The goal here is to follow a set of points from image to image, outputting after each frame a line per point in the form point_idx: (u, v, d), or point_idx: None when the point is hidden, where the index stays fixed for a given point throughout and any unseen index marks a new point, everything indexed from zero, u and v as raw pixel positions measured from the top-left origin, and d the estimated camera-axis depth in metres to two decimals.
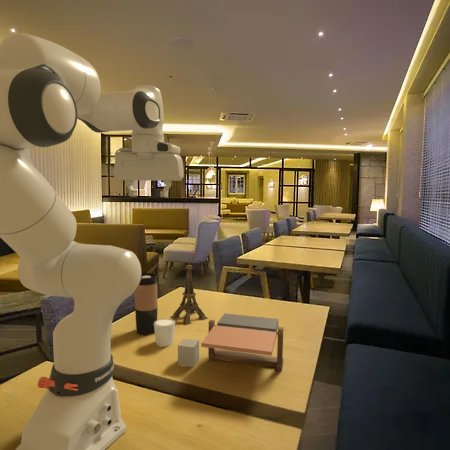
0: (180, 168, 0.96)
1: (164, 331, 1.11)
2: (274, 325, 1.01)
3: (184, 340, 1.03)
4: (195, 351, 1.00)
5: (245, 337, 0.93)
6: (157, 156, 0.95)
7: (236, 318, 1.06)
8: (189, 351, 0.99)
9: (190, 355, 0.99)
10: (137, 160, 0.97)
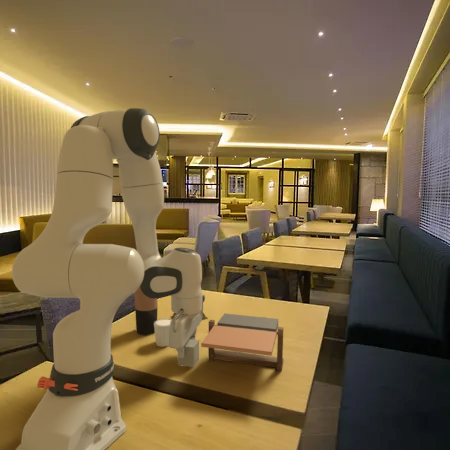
0: None
1: (164, 331, 1.11)
2: (274, 325, 1.01)
3: None
4: (195, 351, 1.00)
5: (245, 337, 0.93)
6: None
7: (236, 318, 1.06)
8: (189, 351, 0.99)
9: (190, 355, 0.99)
10: (189, 319, 0.99)
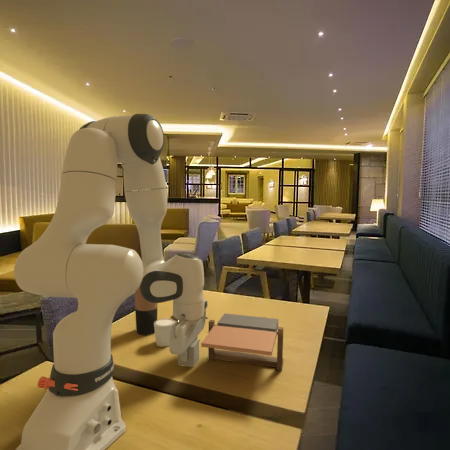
0: None
1: (164, 331, 1.11)
2: (274, 325, 1.01)
3: None
4: (195, 351, 1.00)
5: (245, 337, 0.93)
6: None
7: (236, 318, 1.06)
8: (189, 351, 0.99)
9: (190, 355, 0.99)
10: (190, 325, 0.98)
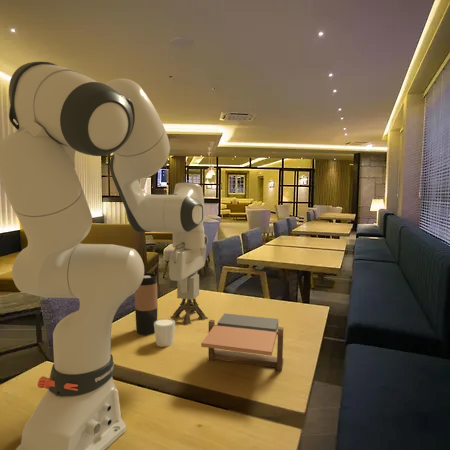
0: None
1: (164, 331, 1.11)
2: (274, 325, 1.01)
3: None
4: (195, 284, 0.98)
5: (245, 337, 0.93)
6: (201, 248, 1.02)
7: (236, 318, 1.06)
8: (189, 282, 0.97)
9: (190, 287, 0.97)
10: (190, 255, 0.96)
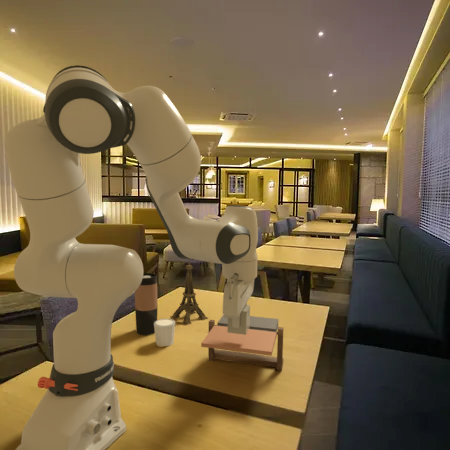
0: None
1: (164, 331, 1.11)
2: (274, 325, 1.01)
3: None
4: (247, 317, 0.88)
5: (245, 337, 0.93)
6: None
7: None
8: (241, 316, 0.87)
9: (242, 321, 0.87)
10: (243, 286, 0.86)
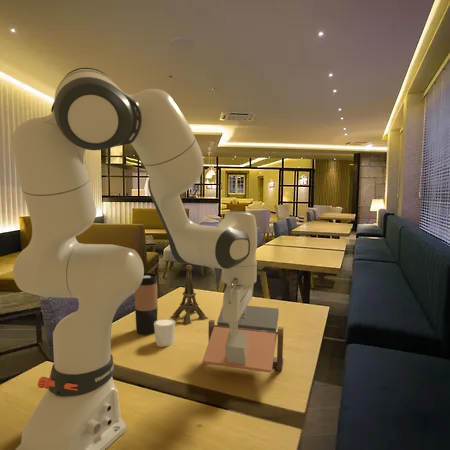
0: None
1: (164, 331, 1.11)
2: (274, 321, 1.01)
3: (230, 335, 0.90)
4: (245, 348, 0.88)
5: None
6: None
7: None
8: (239, 351, 0.87)
9: (241, 355, 0.87)
10: (243, 291, 0.86)
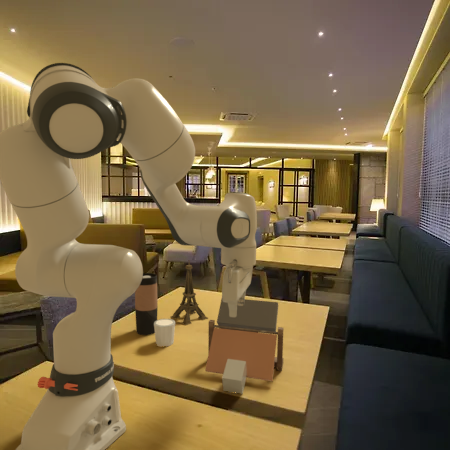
0: None
1: (164, 331, 1.11)
2: (274, 319, 0.99)
3: (225, 382, 0.86)
4: (243, 383, 0.87)
5: (246, 352, 0.95)
6: None
7: None
8: None
9: None
10: (242, 273, 0.86)
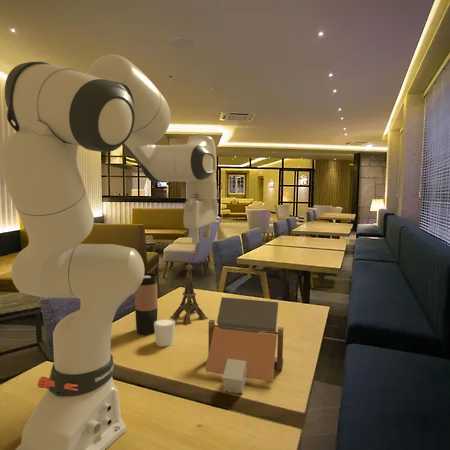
0: None
1: (164, 331, 1.11)
2: (274, 319, 0.99)
3: (225, 381, 0.86)
4: (243, 383, 0.87)
5: (246, 352, 0.95)
6: (213, 202, 1.05)
7: (234, 307, 1.04)
8: None
9: None
10: (203, 206, 0.99)
